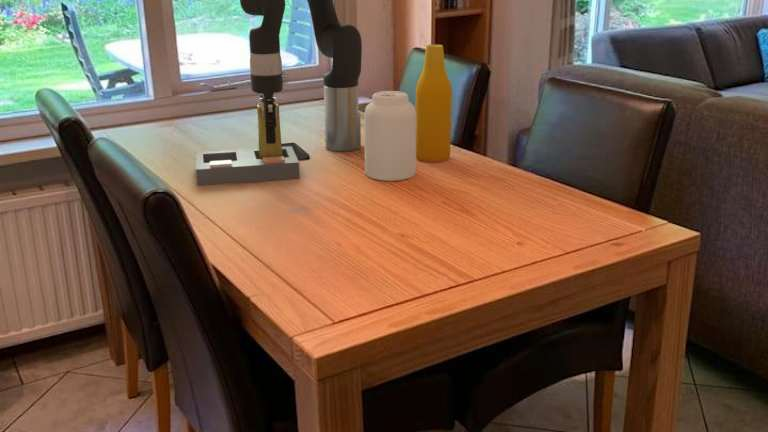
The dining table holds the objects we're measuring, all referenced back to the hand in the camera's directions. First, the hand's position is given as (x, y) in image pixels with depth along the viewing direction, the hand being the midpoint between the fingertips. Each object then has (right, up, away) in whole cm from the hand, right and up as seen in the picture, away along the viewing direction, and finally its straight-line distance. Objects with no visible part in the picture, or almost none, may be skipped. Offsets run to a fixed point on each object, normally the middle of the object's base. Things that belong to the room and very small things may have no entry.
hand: (269, 139), depth 189 cm
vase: (0, -5, +2) cm, 6 cm away
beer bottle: (+41, -4, +12) cm, 43 cm away
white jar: (+30, -9, -1) cm, 31 cm away
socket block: (-6, -8, 0) cm, 10 cm away
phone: (+3, -2, +17) cm, 17 cm away
